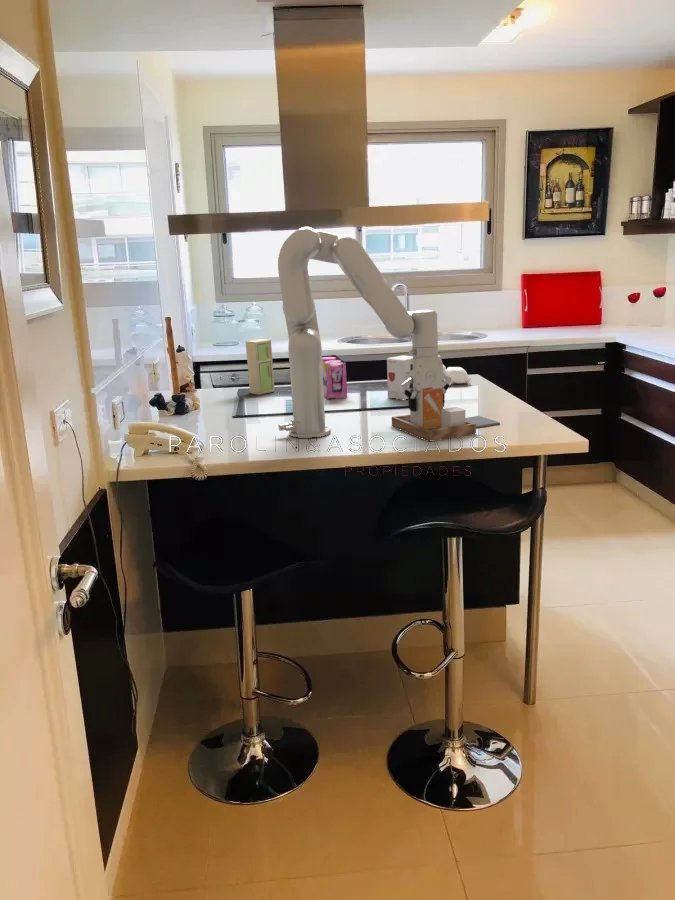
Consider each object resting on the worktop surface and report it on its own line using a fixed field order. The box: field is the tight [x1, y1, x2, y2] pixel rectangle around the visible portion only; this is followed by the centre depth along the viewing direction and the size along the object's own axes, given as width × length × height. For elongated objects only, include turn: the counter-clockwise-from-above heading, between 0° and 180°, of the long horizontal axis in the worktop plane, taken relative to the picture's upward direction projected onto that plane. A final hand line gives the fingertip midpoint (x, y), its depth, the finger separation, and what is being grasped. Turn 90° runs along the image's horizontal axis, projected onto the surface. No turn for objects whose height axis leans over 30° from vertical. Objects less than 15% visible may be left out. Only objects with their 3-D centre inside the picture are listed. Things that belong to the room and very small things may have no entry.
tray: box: [391, 413, 477, 442], centre depth 210 cm, size 16×22×3 cm
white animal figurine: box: [443, 364, 471, 387], centre depth 280 cm, size 9×8×15 cm
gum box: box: [322, 354, 348, 400], centre depth 272 cm, size 24×8×14 cm, turn 10°
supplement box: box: [386, 355, 413, 401], centre depth 258 cm, size 9×9×15 cm
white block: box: [441, 406, 466, 428], centre depth 206 cm, size 5×5×7 cm
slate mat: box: [465, 415, 501, 429], centre depth 216 cm, size 11×11×1 cm
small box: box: [409, 387, 444, 430], centre depth 213 cm, size 8×6×13 cm
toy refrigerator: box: [245, 338, 276, 395], centre depth 279 cm, size 8×7×21 cm
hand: (426, 408), depth 212 cm, fingers open, 9 cm apart
